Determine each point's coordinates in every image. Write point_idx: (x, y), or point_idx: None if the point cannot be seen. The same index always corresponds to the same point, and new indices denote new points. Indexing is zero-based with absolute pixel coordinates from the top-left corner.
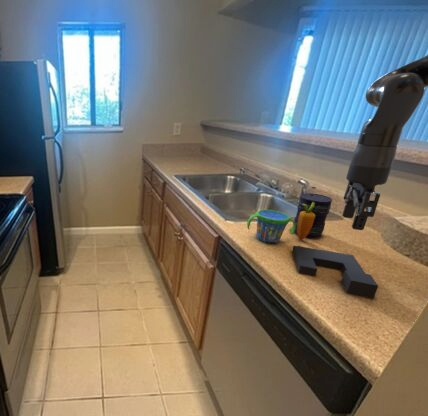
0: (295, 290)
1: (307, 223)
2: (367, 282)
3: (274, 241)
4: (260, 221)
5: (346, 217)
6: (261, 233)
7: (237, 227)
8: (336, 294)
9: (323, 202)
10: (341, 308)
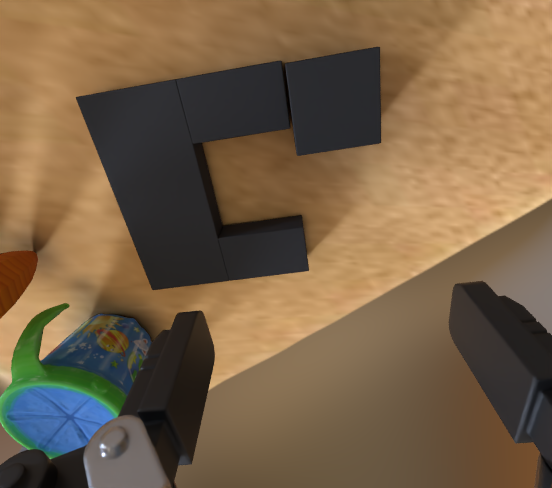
0: (420, 261)
1: None
2: (369, 86)
3: (139, 328)
4: None
5: (209, 336)
6: None
7: None
8: (392, 162)
9: None
10: (471, 155)
